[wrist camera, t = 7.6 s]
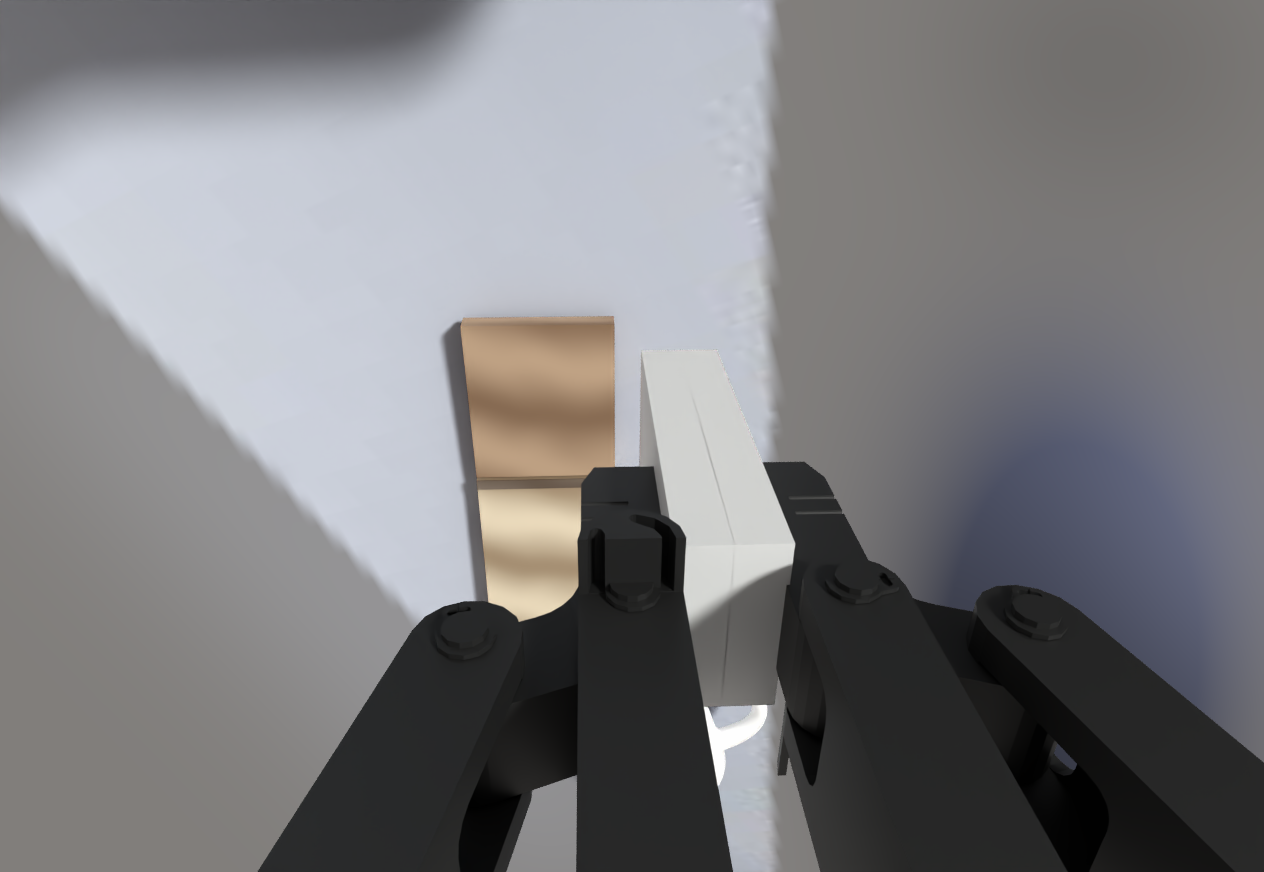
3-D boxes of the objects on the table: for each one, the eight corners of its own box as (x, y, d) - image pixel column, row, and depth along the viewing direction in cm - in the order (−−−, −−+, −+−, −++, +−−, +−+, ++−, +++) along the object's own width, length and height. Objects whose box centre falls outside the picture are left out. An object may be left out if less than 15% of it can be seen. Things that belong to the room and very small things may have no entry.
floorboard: (479, 469, 50) (476, 481, 48) (614, 466, 50) (614, 478, 49) (493, 617, 55) (491, 632, 54) (614, 614, 56) (615, 628, 54)
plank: (463, 317, 45) (460, 326, 44) (613, 316, 45) (614, 324, 44) (479, 467, 50) (476, 477, 49) (614, 464, 50) (614, 474, 49)
